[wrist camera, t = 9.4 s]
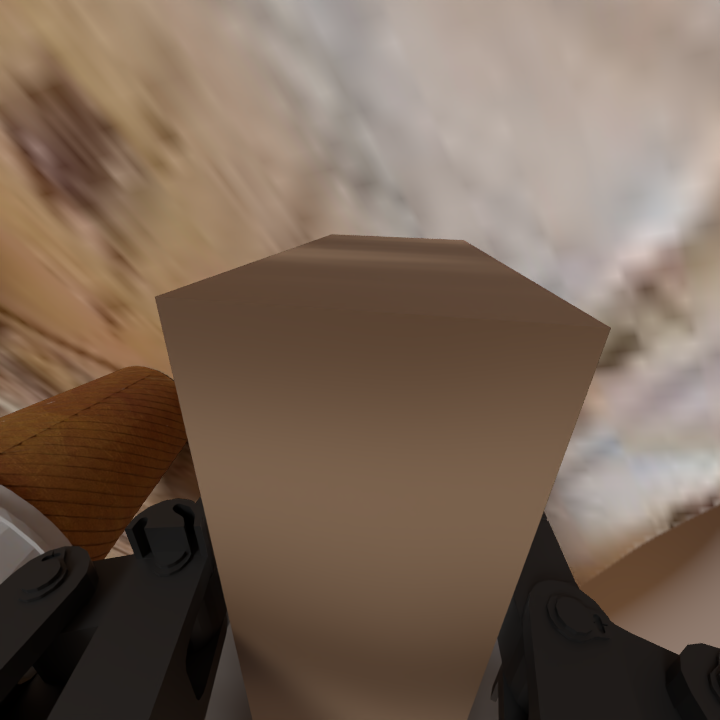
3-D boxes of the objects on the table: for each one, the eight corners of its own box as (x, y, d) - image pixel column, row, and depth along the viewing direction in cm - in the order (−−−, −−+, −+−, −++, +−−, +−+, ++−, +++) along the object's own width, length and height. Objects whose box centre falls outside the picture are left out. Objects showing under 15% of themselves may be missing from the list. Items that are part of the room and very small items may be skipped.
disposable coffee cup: (198, 341, 20) (-58, 507, 9) (233, 466, 24) (85, 684, 13) (61, 342, 21) (-300, 484, 10) (116, 459, 25) (-105, 650, 14)
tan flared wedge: (472, 548, 15) (531, 857, 8) (282, 522, 16) (180, 776, 9) (552, 244, 10) (977, 353, 2) (254, 231, 11) (-73, 281, 3)
